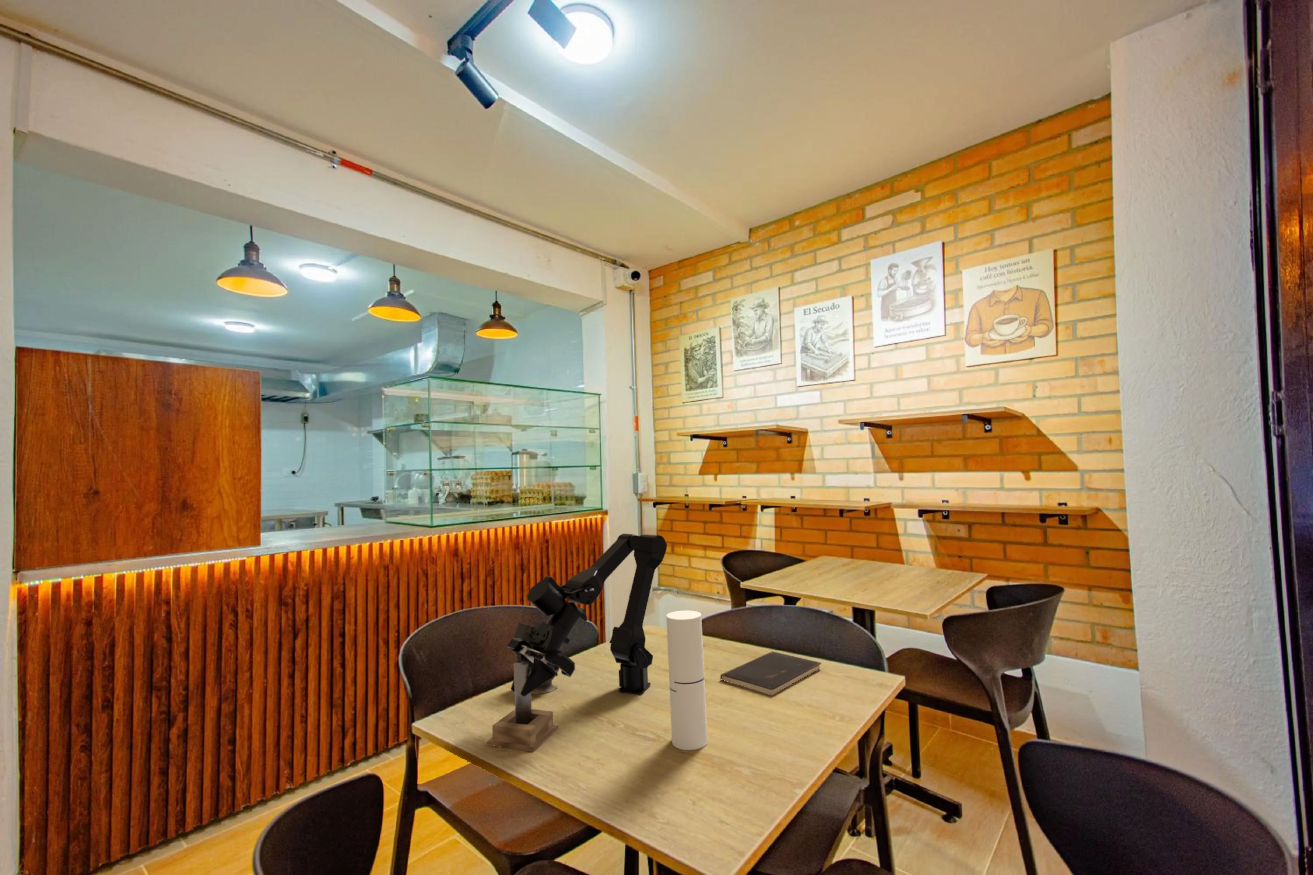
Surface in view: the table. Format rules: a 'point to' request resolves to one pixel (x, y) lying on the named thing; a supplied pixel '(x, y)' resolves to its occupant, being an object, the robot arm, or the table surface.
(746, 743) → the table surface
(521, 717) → the steel pin
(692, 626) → the cylindrical container
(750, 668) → the hardcover book
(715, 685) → the table surface
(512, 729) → the socket board
